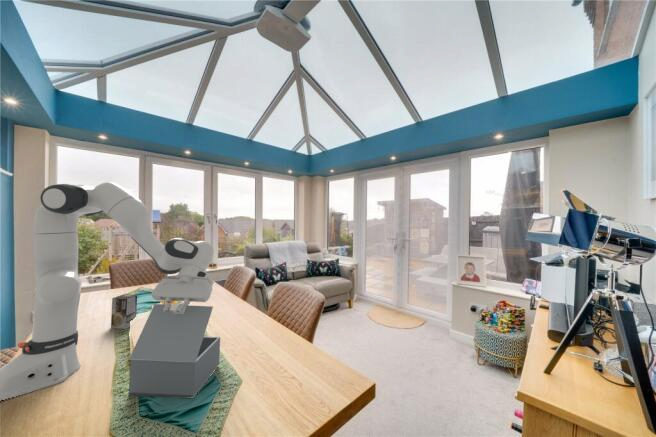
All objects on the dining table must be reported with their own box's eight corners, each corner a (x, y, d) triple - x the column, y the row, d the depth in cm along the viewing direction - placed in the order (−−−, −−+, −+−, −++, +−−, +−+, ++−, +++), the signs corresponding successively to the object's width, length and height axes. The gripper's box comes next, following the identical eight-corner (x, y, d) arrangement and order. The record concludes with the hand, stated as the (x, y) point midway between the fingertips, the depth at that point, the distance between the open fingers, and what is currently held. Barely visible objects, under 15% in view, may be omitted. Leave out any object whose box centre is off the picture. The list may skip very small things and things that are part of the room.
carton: (193, 398, 79) (195, 362, 80) (128, 395, 80) (130, 359, 80) (218, 366, 97) (220, 337, 98) (165, 364, 98) (167, 334, 98)
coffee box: (136, 324, 133) (138, 295, 133) (125, 329, 126) (127, 298, 127) (121, 323, 134) (123, 294, 134) (109, 328, 127) (111, 297, 128)
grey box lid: (195, 362, 80) (187, 360, 75) (130, 359, 80) (118, 356, 75) (213, 307, 90) (207, 302, 86) (155, 304, 91) (146, 299, 86)
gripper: (160, 271, 92) (138, 306, 82) (213, 273, 91) (197, 308, 81) (167, 280, 96) (147, 314, 86) (217, 282, 96) (203, 316, 86)
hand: (172, 311), depth 84 cm, fingers closed on grey box lid, 3 cm apart
